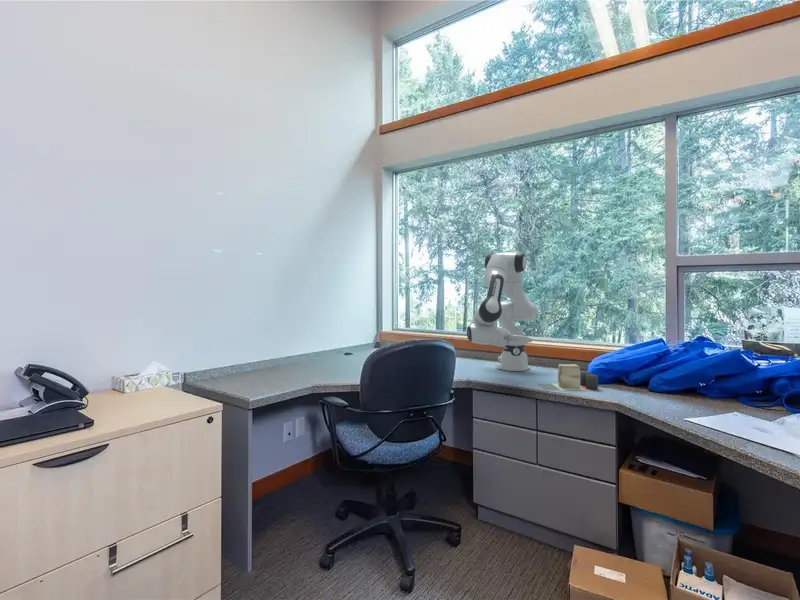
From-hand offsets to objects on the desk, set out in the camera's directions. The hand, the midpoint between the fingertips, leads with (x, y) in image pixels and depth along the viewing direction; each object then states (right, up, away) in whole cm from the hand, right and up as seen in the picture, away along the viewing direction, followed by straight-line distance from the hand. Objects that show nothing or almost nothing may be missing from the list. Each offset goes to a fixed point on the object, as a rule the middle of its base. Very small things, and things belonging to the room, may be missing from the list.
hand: (530, 340), depth 187 cm
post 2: (+26, -21, -6) cm, 34 cm away
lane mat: (+17, -22, -2) cm, 28 cm away
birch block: (+17, -21, -3) cm, 27 cm away
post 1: (+26, -21, 0) cm, 34 cm away
